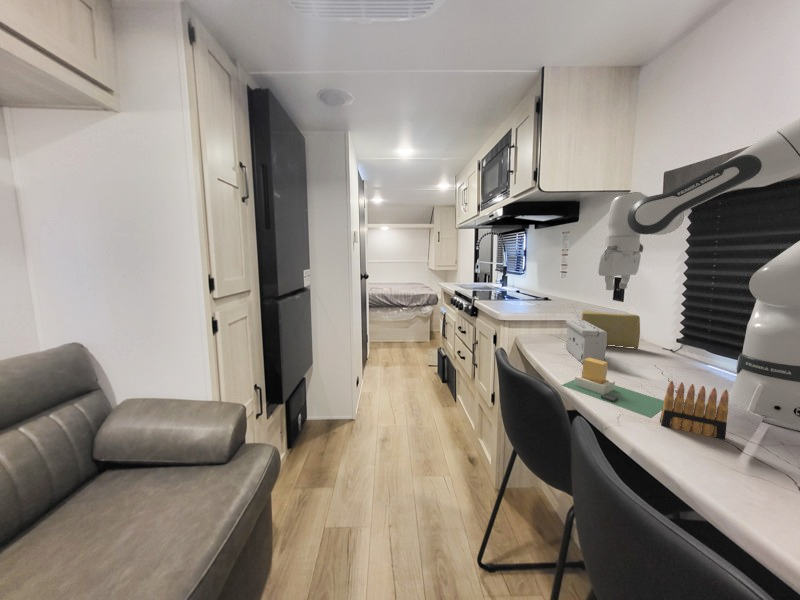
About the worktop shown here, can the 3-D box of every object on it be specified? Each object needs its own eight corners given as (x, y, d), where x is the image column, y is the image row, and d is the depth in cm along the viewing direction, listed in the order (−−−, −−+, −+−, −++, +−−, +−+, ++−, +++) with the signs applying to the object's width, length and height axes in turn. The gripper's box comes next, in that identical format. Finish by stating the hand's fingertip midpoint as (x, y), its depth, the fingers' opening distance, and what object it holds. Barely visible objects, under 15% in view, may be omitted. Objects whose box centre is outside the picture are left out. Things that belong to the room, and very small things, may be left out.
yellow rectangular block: (604, 388, 90) (607, 362, 89) (599, 391, 88) (602, 364, 87) (584, 381, 95) (587, 356, 94) (579, 384, 93) (581, 358, 92)
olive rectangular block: (636, 346, 137) (640, 313, 135) (639, 352, 129) (644, 317, 127) (579, 339, 148) (582, 308, 146) (579, 344, 140) (582, 311, 138)
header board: (670, 407, 82) (672, 394, 81) (650, 422, 74) (652, 408, 73) (584, 379, 100) (585, 368, 99) (560, 388, 92) (561, 377, 92)
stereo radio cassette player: (605, 367, 111) (611, 313, 108) (580, 365, 113) (585, 311, 110) (583, 349, 132) (587, 303, 129) (562, 348, 133) (566, 303, 130)
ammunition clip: (660, 430, 71) (667, 381, 69) (658, 426, 72) (665, 378, 71) (724, 445, 65) (734, 392, 64) (721, 441, 67) (730, 389, 65)
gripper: (618, 245, 90) (612, 292, 92) (645, 247, 101) (640, 288, 103) (594, 245, 95) (590, 290, 97) (623, 247, 106) (619, 287, 108)
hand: (616, 289), depth 100 cm, fingers open, 8 cm apart
